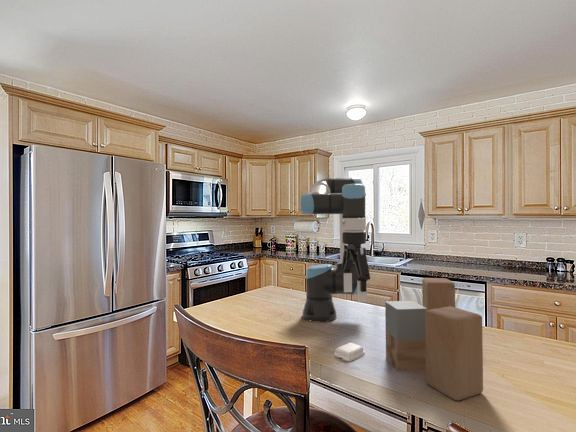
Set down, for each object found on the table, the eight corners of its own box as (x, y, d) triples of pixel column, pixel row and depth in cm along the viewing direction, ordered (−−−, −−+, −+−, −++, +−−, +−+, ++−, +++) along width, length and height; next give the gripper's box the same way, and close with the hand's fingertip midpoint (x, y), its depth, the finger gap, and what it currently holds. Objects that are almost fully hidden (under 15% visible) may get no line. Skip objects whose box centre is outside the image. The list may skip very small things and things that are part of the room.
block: (456, 403, 78) (455, 319, 78) (424, 383, 87) (423, 309, 87) (485, 394, 82) (484, 314, 82) (450, 376, 91) (450, 304, 91)
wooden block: (456, 336, 121) (455, 282, 121) (427, 335, 123) (427, 282, 123) (448, 327, 130) (448, 278, 131) (422, 326, 132) (421, 277, 133)
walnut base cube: (385, 358, 103) (385, 329, 103) (413, 357, 104) (413, 328, 104) (397, 371, 94) (397, 340, 94) (427, 370, 95) (427, 339, 95)
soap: (349, 363, 100) (349, 353, 100) (332, 356, 105) (332, 347, 105) (366, 354, 106) (366, 346, 106) (349, 348, 111) (349, 340, 111)
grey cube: (385, 329, 103) (385, 301, 103) (413, 328, 104) (412, 300, 104) (397, 340, 94) (397, 309, 94) (427, 339, 95) (426, 308, 95)
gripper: (332, 230, 118) (332, 289, 118) (356, 233, 93) (357, 307, 93) (352, 230, 119) (352, 288, 119) (381, 232, 94) (382, 306, 94)
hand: (354, 296), depth 106 cm, fingers open, 13 cm apart
